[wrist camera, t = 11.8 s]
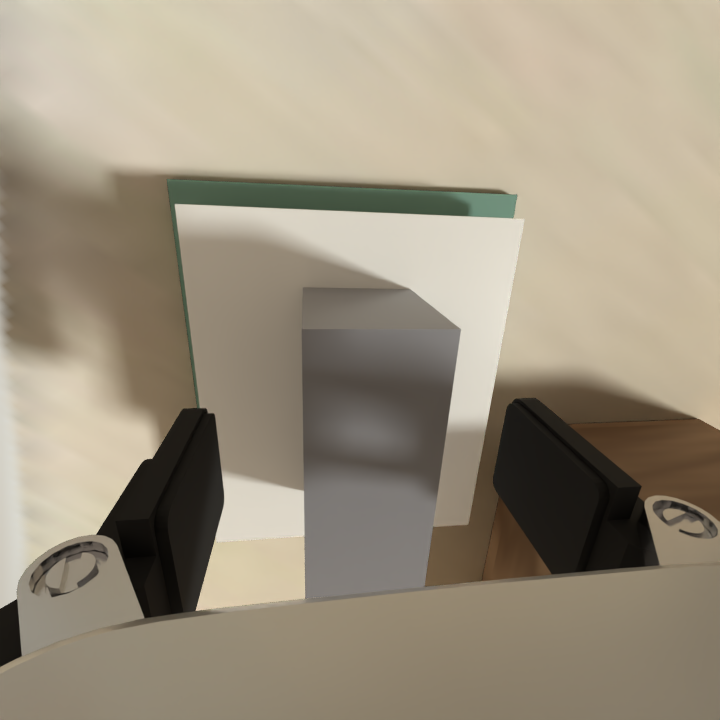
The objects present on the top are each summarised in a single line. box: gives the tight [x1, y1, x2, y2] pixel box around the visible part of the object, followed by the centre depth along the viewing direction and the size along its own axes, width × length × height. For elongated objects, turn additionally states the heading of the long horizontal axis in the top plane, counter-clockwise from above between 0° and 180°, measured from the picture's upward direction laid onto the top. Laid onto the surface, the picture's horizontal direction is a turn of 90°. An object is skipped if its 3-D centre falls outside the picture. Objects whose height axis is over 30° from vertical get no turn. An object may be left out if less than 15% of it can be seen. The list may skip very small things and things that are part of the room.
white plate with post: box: [175, 204, 525, 599], centre depth 13 cm, size 13×11×6 cm
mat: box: [167, 179, 517, 408], centre depth 16 cm, size 14×12×1 cm
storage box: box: [482, 419, 720, 581], centre depth 18 cm, size 12×10×7 cm
